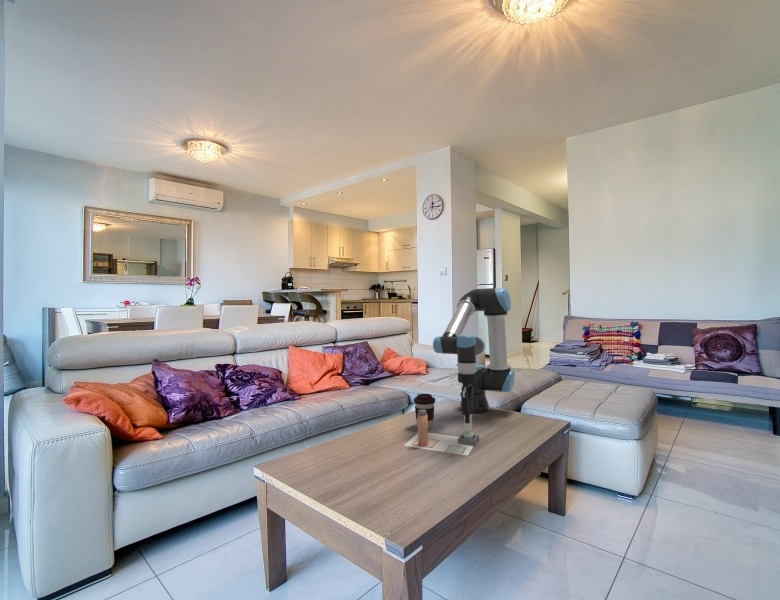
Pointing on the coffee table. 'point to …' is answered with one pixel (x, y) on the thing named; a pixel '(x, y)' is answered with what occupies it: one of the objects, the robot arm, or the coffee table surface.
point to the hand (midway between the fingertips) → (468, 430)
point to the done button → (468, 435)
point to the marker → (422, 428)
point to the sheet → (441, 444)
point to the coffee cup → (425, 407)
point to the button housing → (468, 440)
